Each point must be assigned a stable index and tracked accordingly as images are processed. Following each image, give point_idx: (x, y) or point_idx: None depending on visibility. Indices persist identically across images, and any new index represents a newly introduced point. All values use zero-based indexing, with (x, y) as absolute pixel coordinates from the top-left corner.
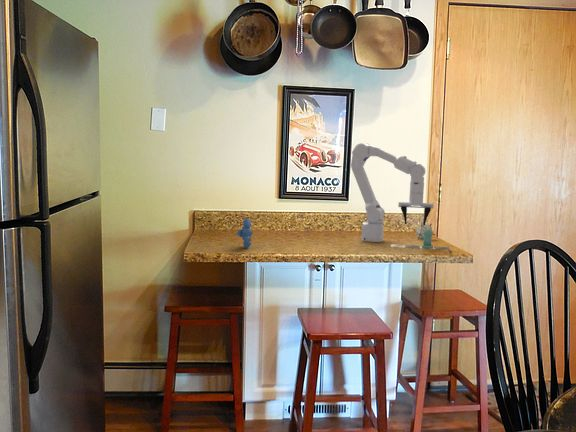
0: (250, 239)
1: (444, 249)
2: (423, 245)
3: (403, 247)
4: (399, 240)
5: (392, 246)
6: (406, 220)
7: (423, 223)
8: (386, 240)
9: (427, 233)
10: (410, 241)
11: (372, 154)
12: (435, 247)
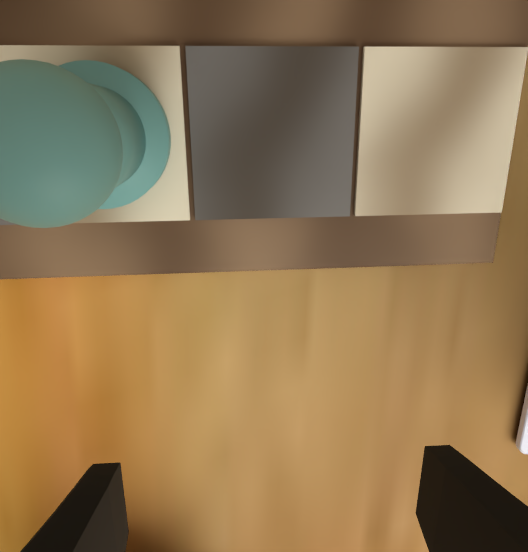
0: None
1: None
2: (141, 93)
3: (384, 47)
4: (367, 532)
5: (505, 79)
6: (467, 489)
7: (110, 481)
8: None
9: (33, 61)
10: (274, 521)
11: None
12: None
